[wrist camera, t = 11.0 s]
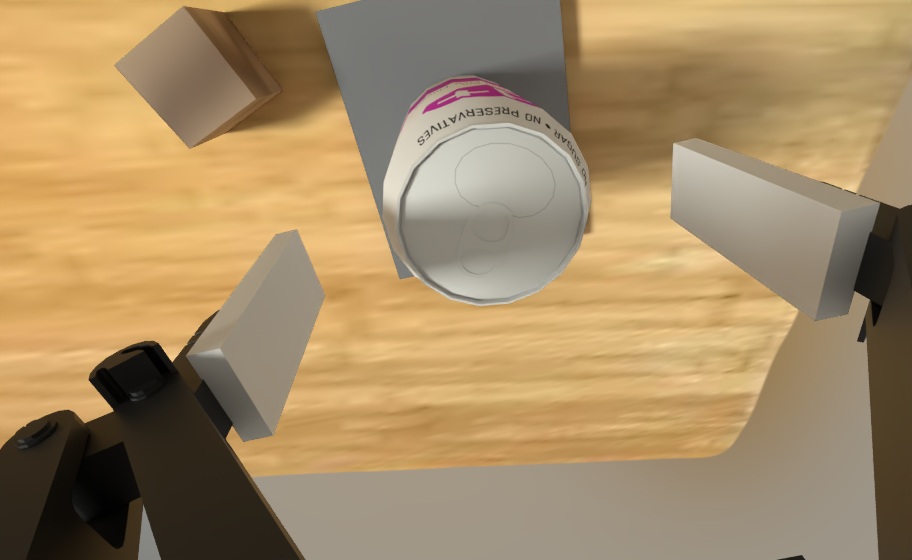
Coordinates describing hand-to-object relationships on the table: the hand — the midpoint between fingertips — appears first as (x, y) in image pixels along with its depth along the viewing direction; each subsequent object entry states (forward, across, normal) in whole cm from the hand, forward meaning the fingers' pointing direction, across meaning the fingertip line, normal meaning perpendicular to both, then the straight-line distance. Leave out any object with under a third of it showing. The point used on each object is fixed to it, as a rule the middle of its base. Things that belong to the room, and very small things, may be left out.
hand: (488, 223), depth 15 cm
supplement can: (+16, 0, 0) cm, 16 cm away
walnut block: (+17, -14, +6) cm, 23 cm away
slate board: (+17, 0, 0) cm, 17 cm away
